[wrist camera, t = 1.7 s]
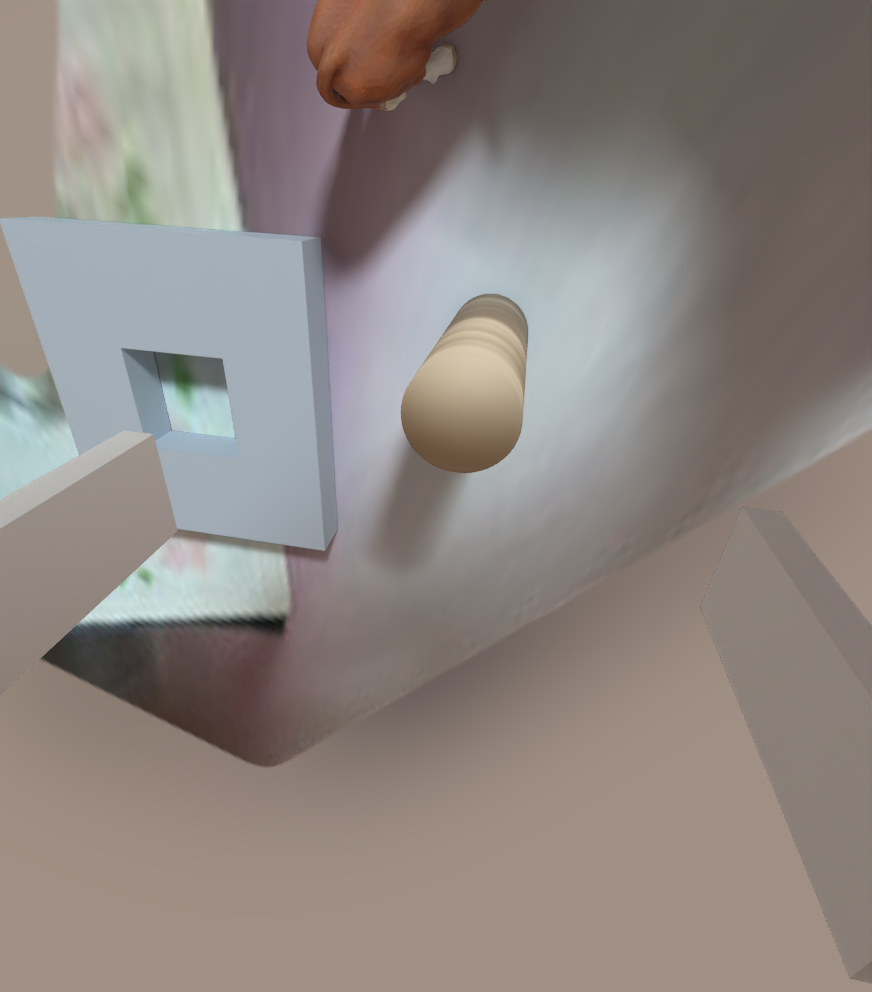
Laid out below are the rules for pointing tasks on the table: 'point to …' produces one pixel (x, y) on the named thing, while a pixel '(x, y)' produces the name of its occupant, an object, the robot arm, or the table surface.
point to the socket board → (198, 332)
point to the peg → (470, 388)
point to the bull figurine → (381, 47)
